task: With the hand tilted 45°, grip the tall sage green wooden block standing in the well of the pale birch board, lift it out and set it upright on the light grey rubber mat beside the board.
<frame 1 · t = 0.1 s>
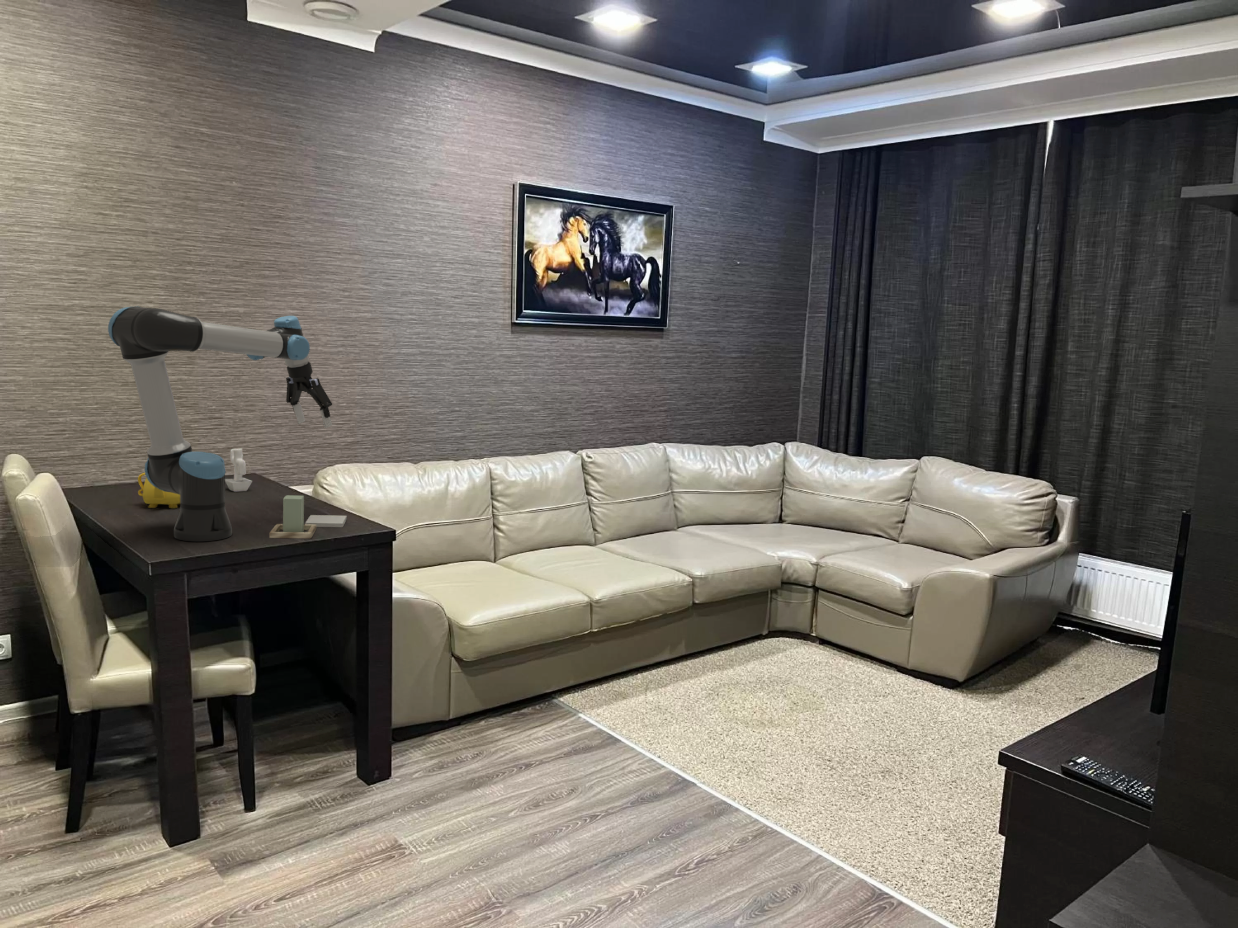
hand: (314, 424, 303), 28 cm above the table, tool tilted 20°, fingers open, 13 cm apart
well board: (293, 533, 269), on the table
teapot: (169, 506, 295), on the table
grey mat: (326, 522, 284), on the table
figurine: (238, 490, 325), on the table
sage block: (293, 515, 268), in the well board
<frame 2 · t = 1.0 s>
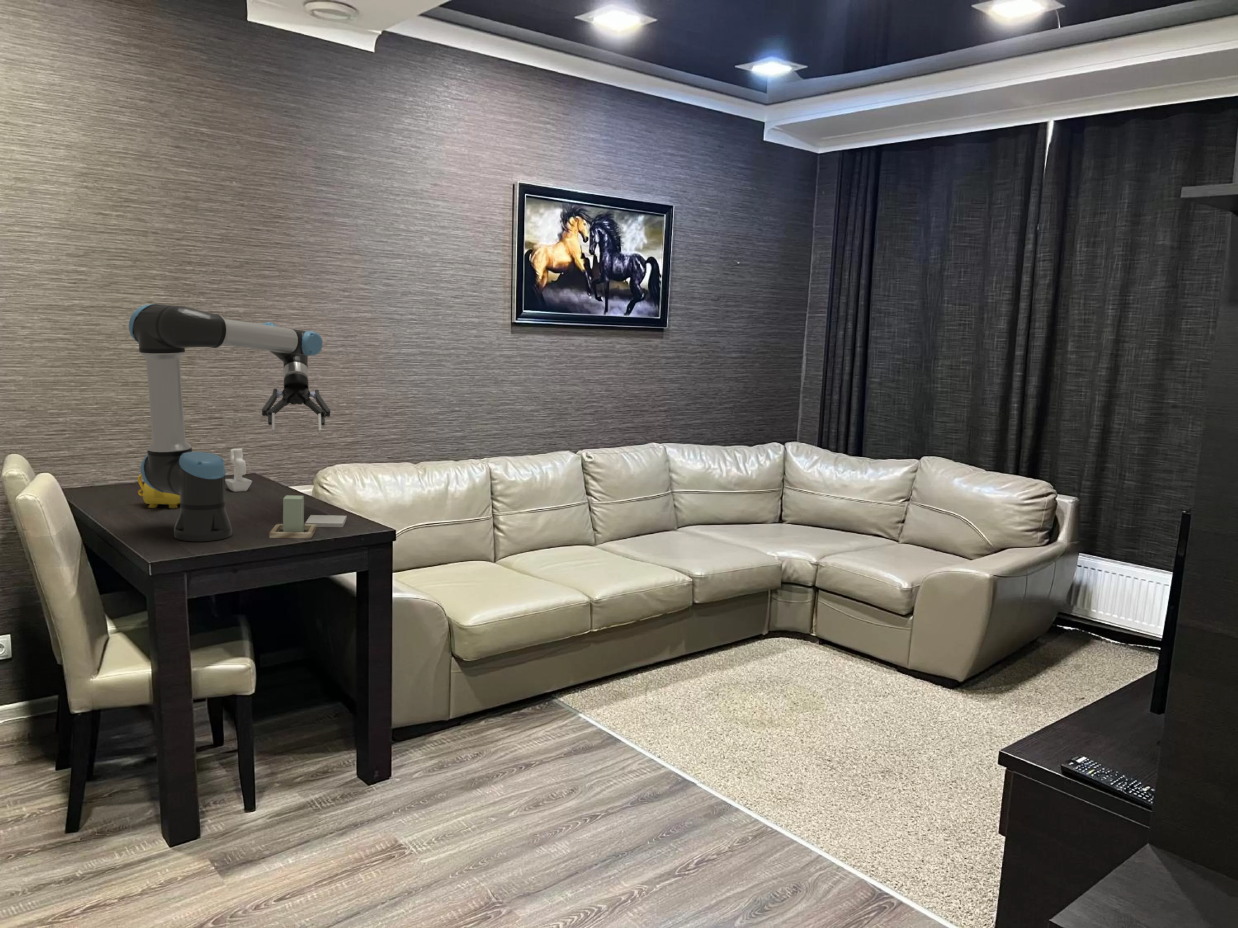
hand: (296, 432, 281), 28 cm above the table, tool tilted 45°, fingers open, 13 cm apart
nothing on the table moved.
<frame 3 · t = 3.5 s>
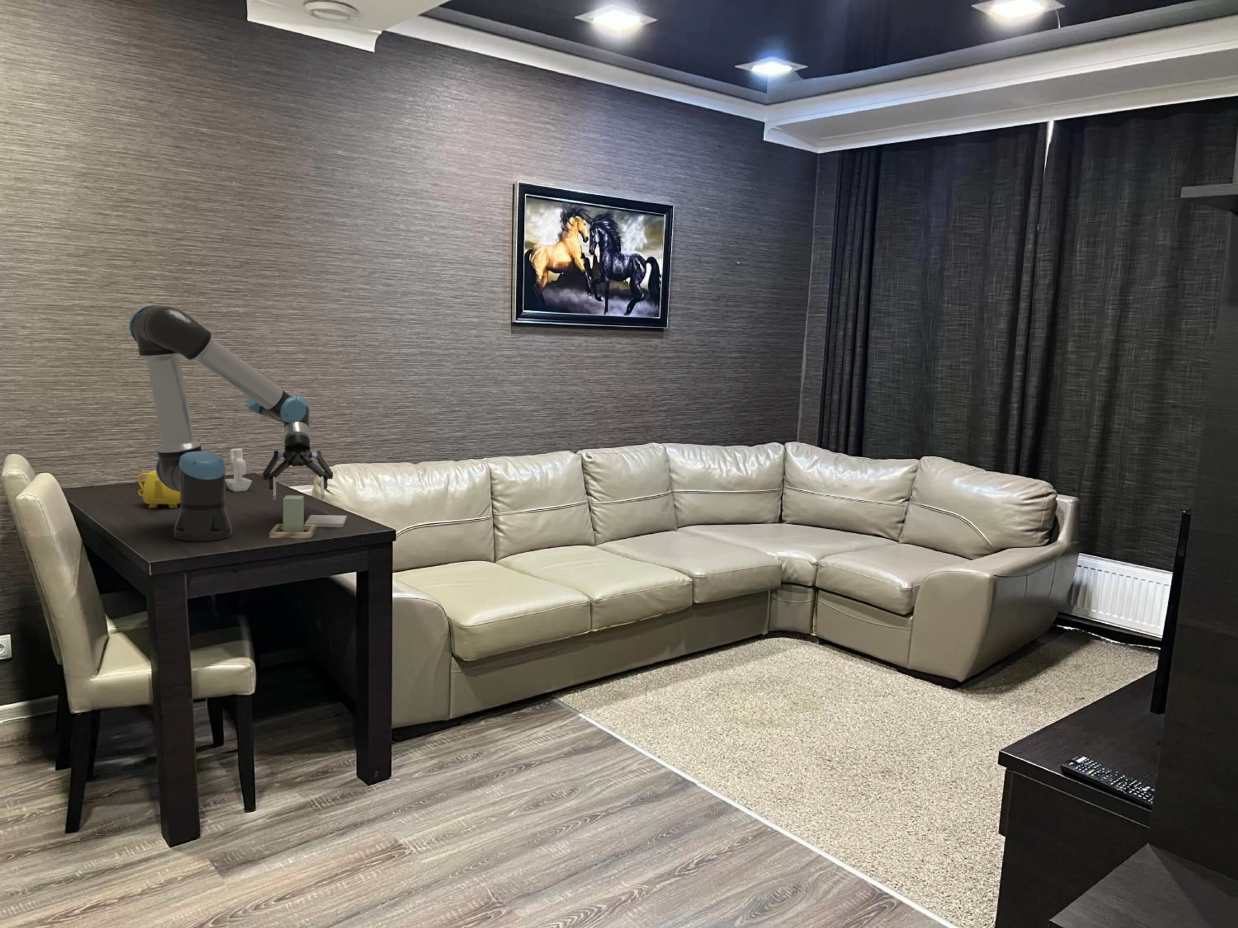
hand: (298, 497, 273), 10 cm above the table, tool tilted 45°, fingers open, 13 cm apart
nothing on the table moved.
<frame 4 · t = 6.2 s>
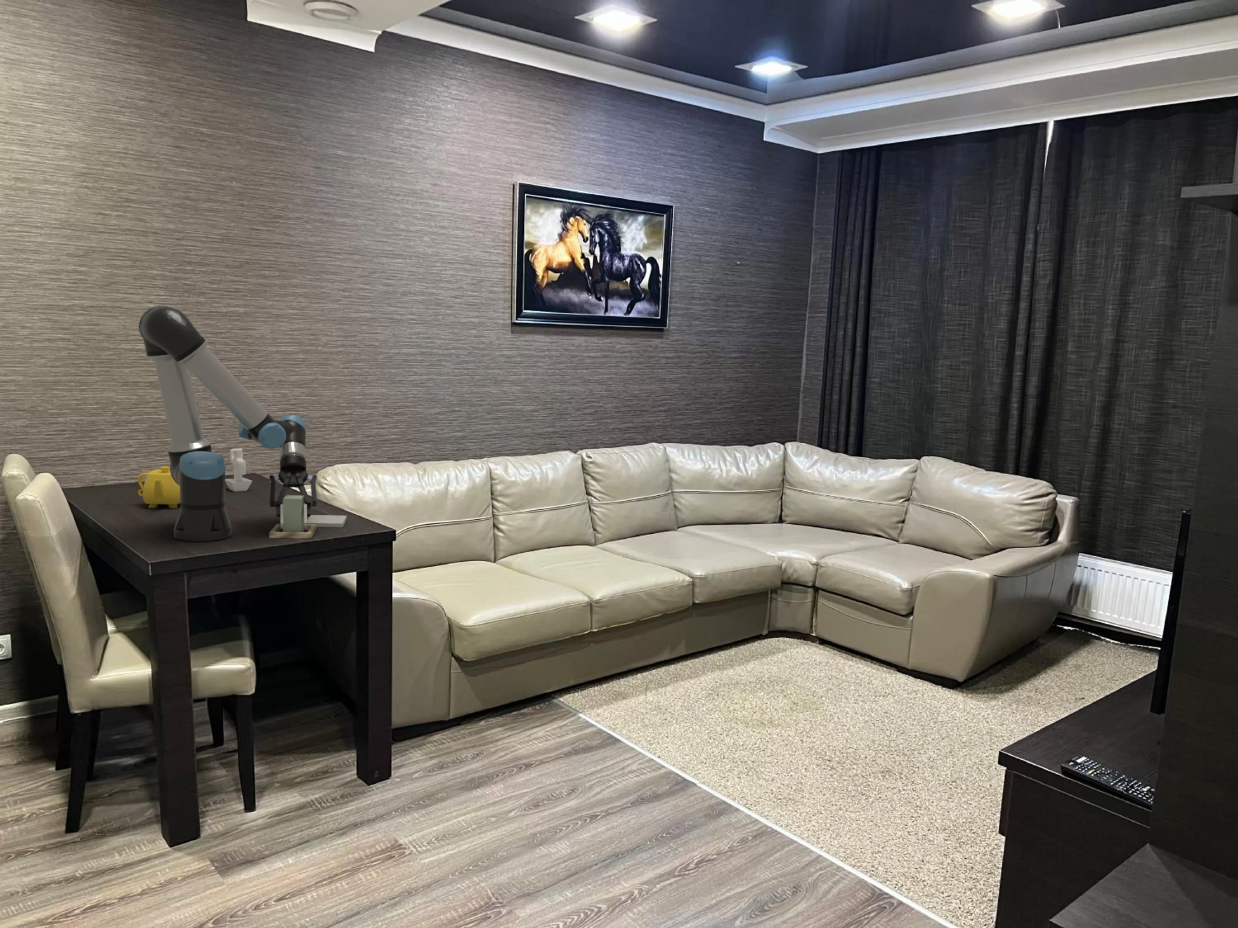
hand: (293, 525, 265), 3 cm above the table, tool tilted 45°, fingers closed on sage block, 6 cm apart
sage block: (293, 515, 268), in the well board, touching gripper
everything else where it was.
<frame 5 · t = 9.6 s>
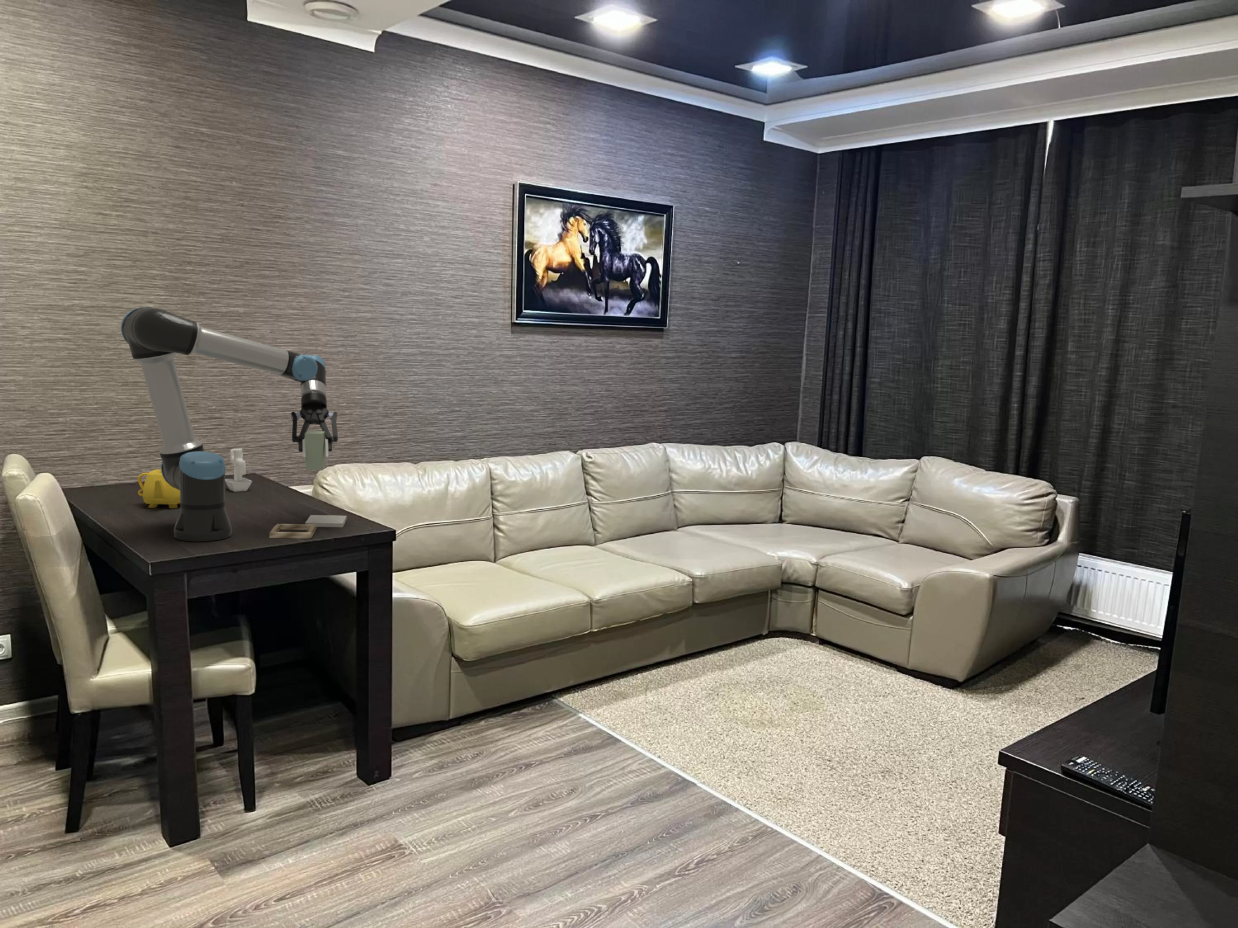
hand: (315, 459, 270), 22 cm above the table, tool tilted 45°, fingers closed on sage block, 6 cm apart
sage block: (315, 450, 273), point 24 cm above the table, touching gripper
everything else where it was.
when the fingers open (6 cm above the table, at t = 13.2 s): sage block drops 1 cm, resting on grey mat.
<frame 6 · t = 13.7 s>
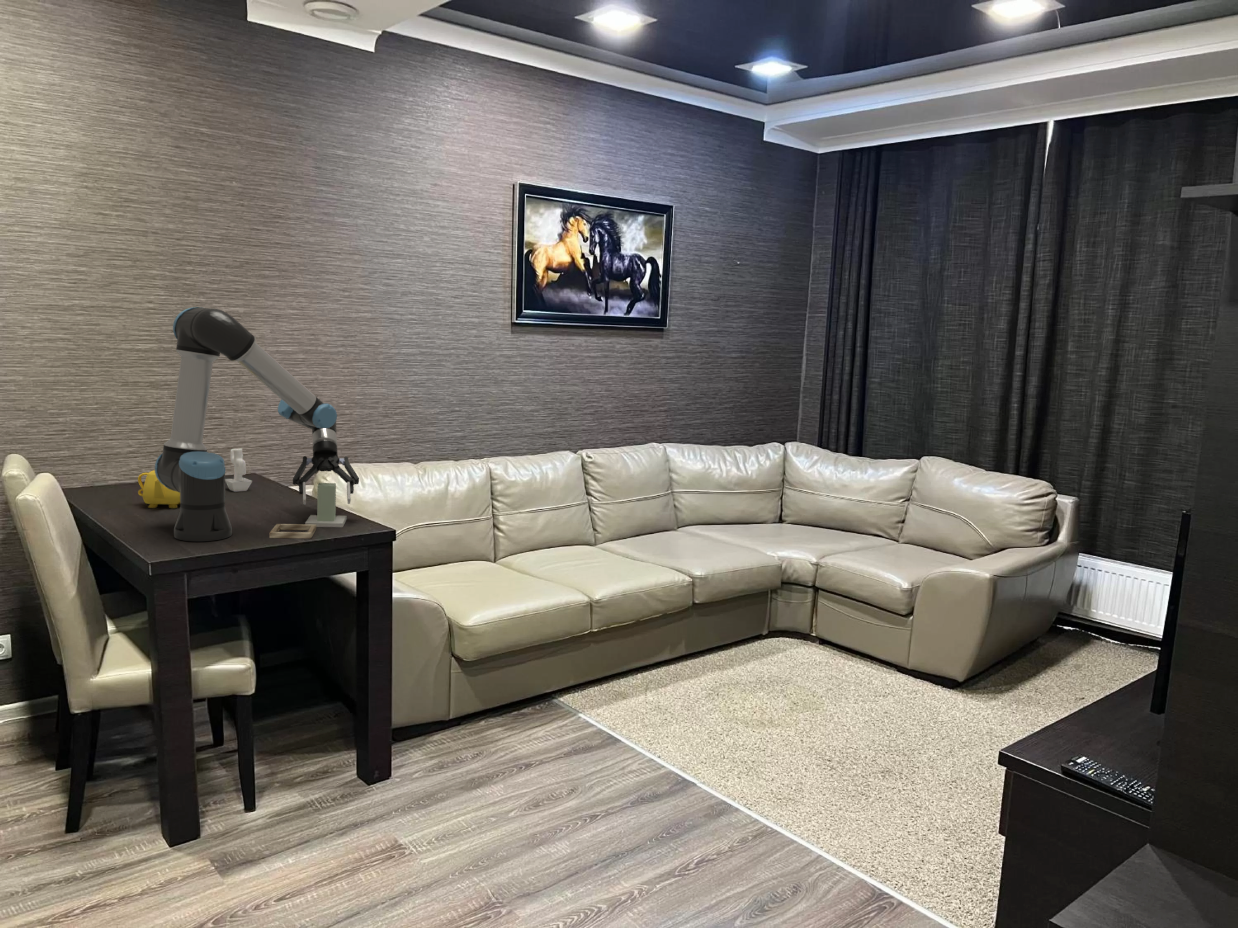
hand: (327, 501, 281), 7 cm above the table, tool tilted 45°, fingers open, 12 cm apart
sage block: (326, 501, 283), on the grey mat, point 7 cm above the table
everything else where it was.
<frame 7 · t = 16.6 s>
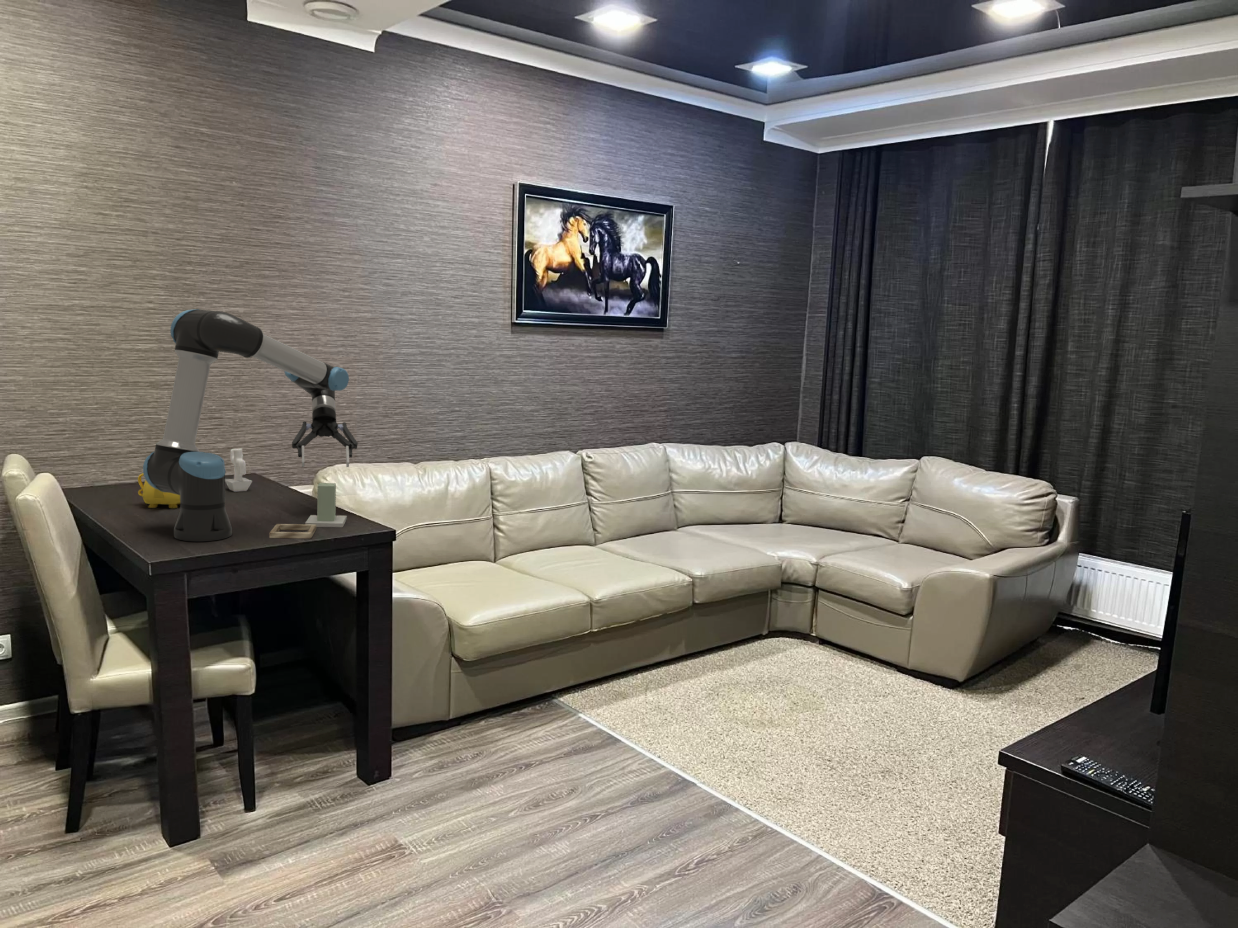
hand: (325, 464, 291), 17 cm above the table, tool tilted 45°, fingers open, 13 cm apart
nothing on the table moved.
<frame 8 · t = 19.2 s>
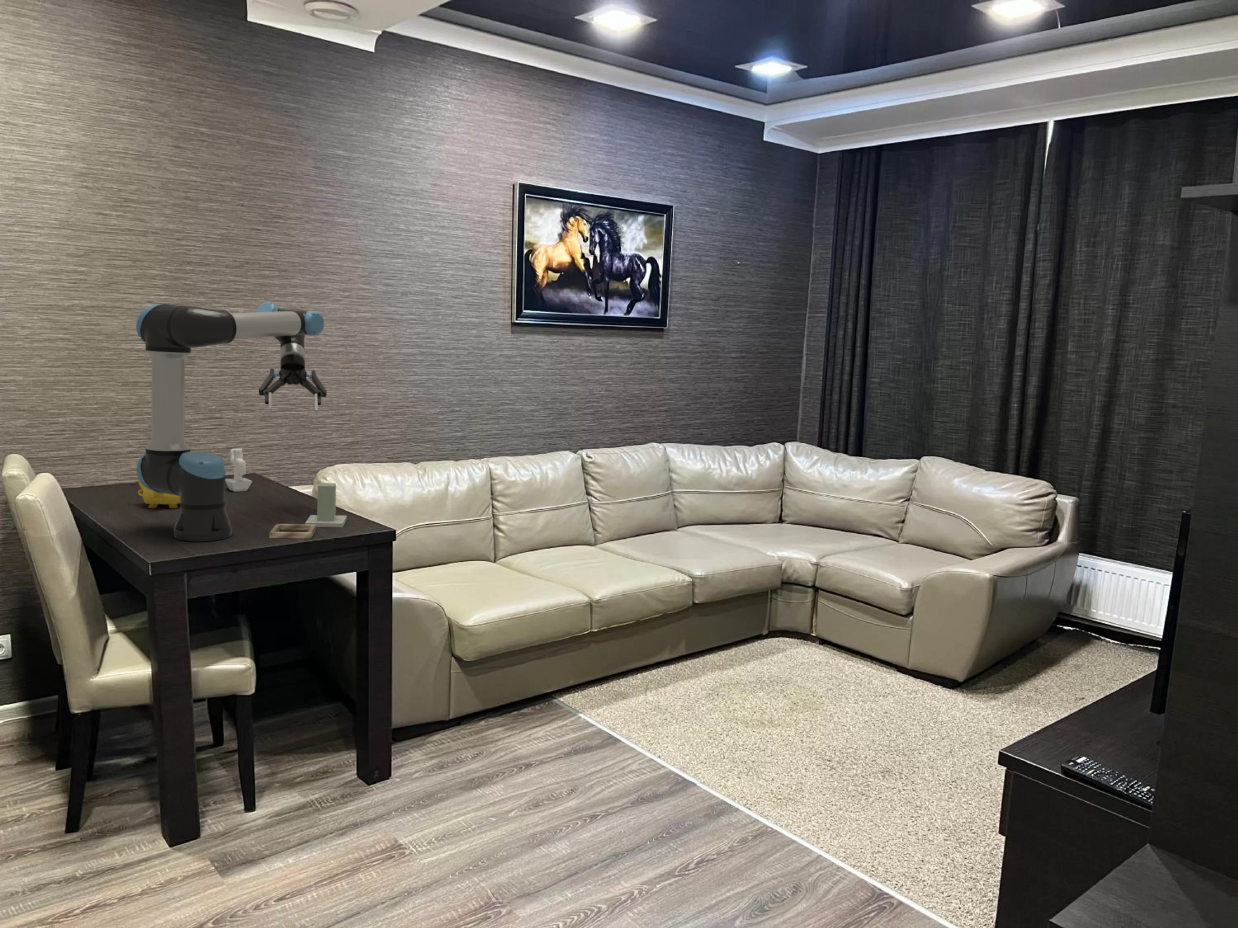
hand: (293, 412, 284), 34 cm above the table, tool tilted 45°, fingers open, 13 cm apart
nothing on the table moved.
at the end: sage block inside the target area (0.0 cm from its centre), point 6.7 cm above the table; sage block tilted 0°; sage block touching grey mat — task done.
